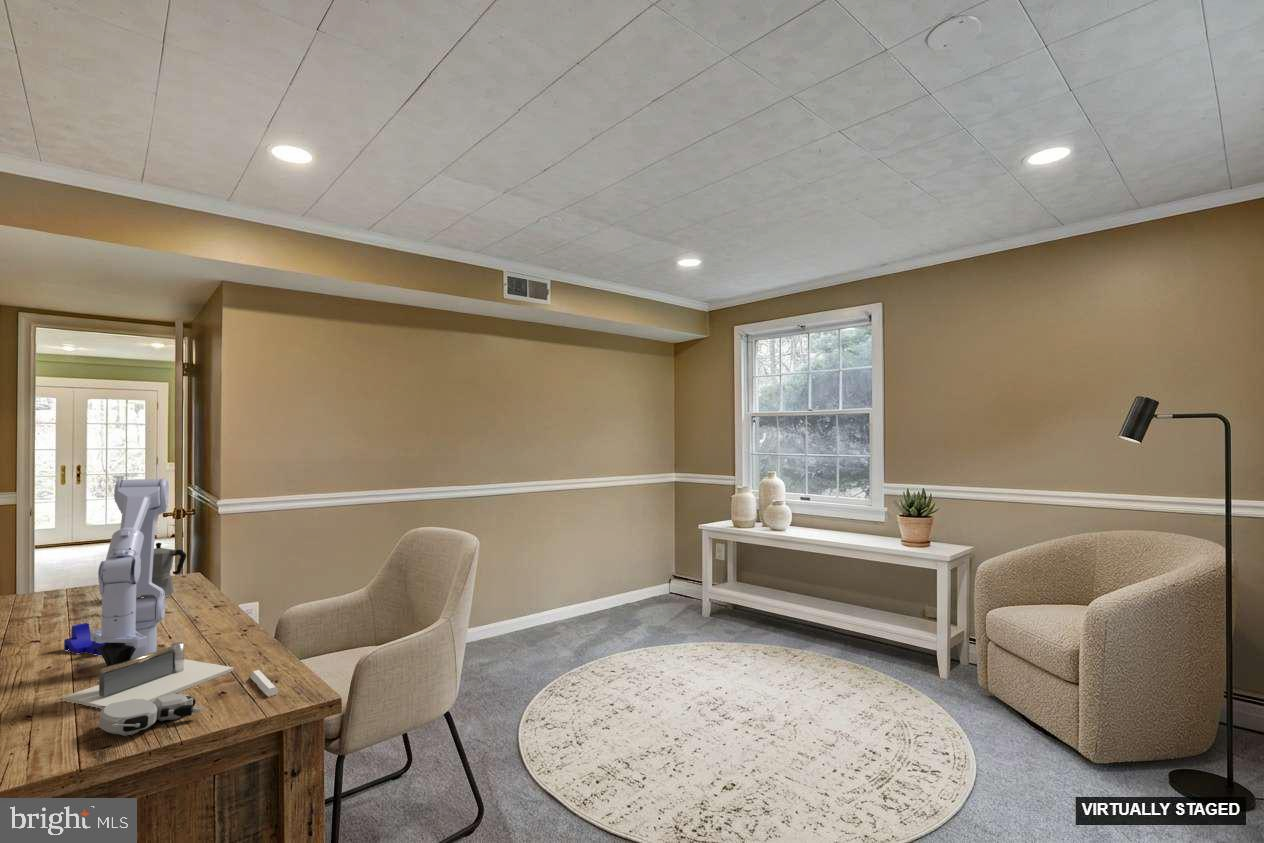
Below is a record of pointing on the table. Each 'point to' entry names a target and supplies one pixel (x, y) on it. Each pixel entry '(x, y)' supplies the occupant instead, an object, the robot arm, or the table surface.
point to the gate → (135, 671)
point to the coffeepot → (165, 568)
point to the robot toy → (144, 713)
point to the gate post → (178, 657)
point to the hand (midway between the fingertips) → (117, 677)
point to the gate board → (154, 685)
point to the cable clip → (82, 640)
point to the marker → (263, 683)
